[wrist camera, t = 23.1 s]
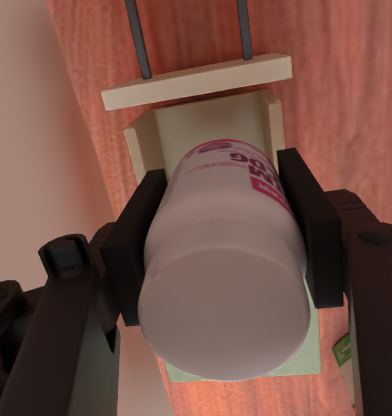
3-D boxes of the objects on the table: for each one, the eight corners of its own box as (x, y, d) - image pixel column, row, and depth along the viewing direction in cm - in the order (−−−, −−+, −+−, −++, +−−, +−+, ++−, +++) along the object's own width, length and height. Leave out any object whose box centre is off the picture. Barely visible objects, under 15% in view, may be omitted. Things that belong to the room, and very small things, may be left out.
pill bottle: (294, 150, 15) (369, 263, 7) (260, 246, 17) (288, 413, 9) (183, 122, 15) (138, 206, 7) (161, 221, 17) (108, 371, 9)
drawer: (102, -41, 25) (54, -73, 18) (263, -80, 24) (278, -131, 17) (166, 226, 34) (150, 274, 27) (287, 211, 33) (304, 257, 26)
